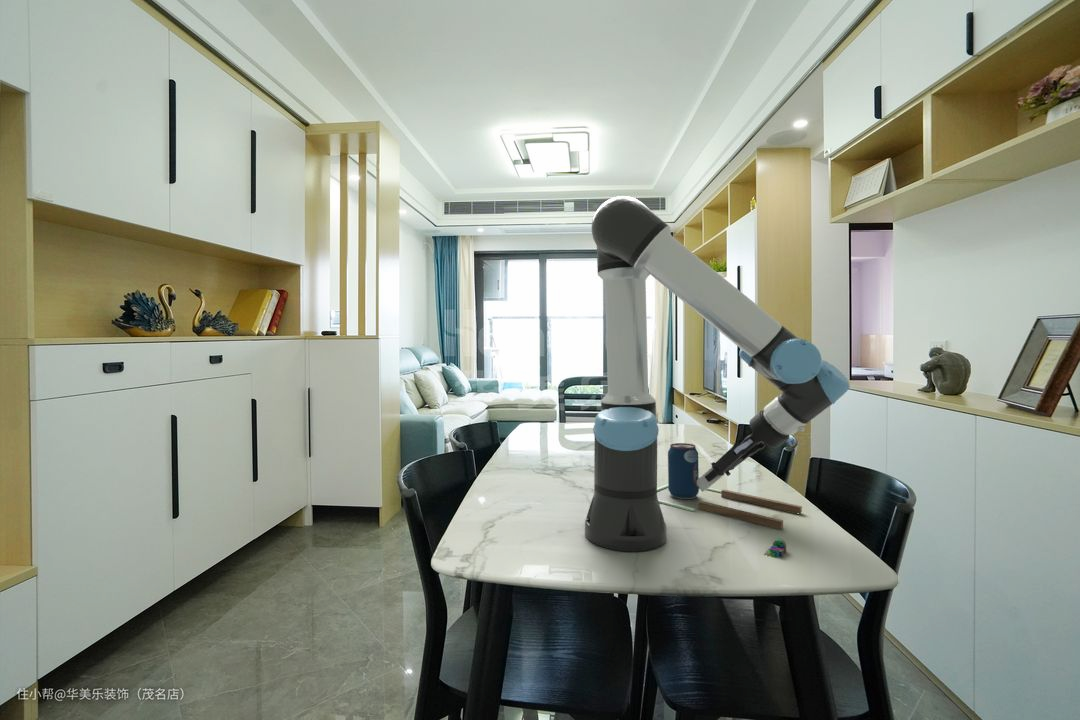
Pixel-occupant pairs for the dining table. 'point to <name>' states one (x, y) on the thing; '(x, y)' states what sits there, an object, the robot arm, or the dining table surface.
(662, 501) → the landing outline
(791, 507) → the walnut rails
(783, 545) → the multicolored toy figure
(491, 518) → the dining table surface
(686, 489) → the soda can
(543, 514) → the dining table surface
